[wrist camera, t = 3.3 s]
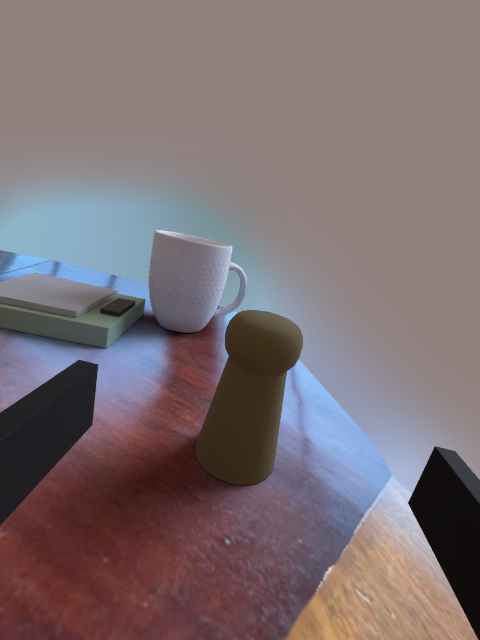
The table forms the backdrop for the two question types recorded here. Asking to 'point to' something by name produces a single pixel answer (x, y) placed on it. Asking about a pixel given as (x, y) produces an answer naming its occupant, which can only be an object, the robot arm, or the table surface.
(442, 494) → the robot arm
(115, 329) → the scale
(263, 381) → the olive pawn piece
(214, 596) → the table surface
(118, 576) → the table surface
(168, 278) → the mug
